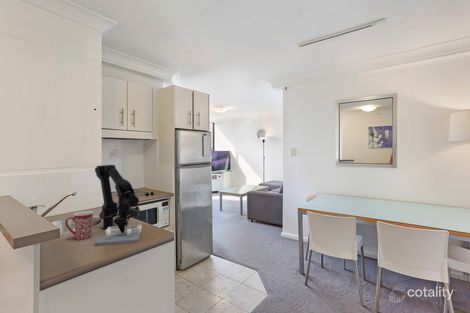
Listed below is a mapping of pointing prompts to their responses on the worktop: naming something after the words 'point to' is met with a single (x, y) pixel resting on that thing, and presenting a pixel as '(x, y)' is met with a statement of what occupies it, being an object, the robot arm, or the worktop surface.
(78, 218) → the mug
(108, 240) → the peg board
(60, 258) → the worktop surface
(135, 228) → the power strip
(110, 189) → the robot arm
